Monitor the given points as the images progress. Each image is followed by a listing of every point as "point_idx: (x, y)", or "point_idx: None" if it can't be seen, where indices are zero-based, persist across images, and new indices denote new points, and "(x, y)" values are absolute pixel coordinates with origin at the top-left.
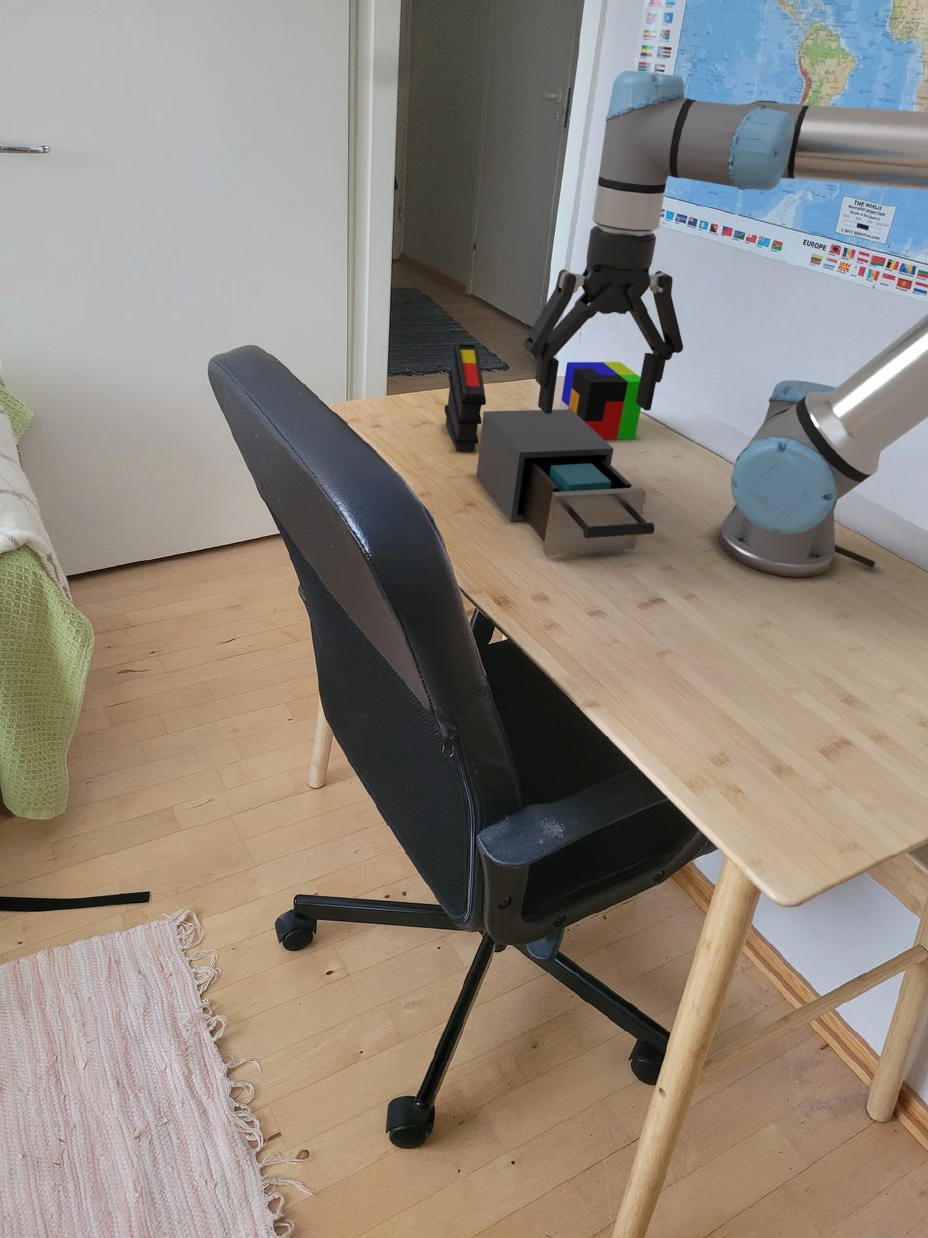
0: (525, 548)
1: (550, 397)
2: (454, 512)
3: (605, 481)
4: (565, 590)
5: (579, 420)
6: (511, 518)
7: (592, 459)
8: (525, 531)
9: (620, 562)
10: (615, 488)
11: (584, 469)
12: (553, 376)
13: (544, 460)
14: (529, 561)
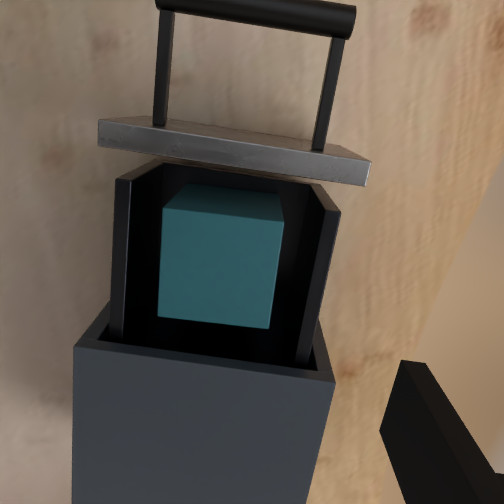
0: (342, 204)
1: (444, 406)
2: (390, 355)
3: (178, 213)
4: (363, 29)
5: (81, 497)
6: None
7: None
8: None
9: (190, 98)
10: (138, 221)
11: (195, 289)
12: (494, 495)
13: None
14: (364, 157)
